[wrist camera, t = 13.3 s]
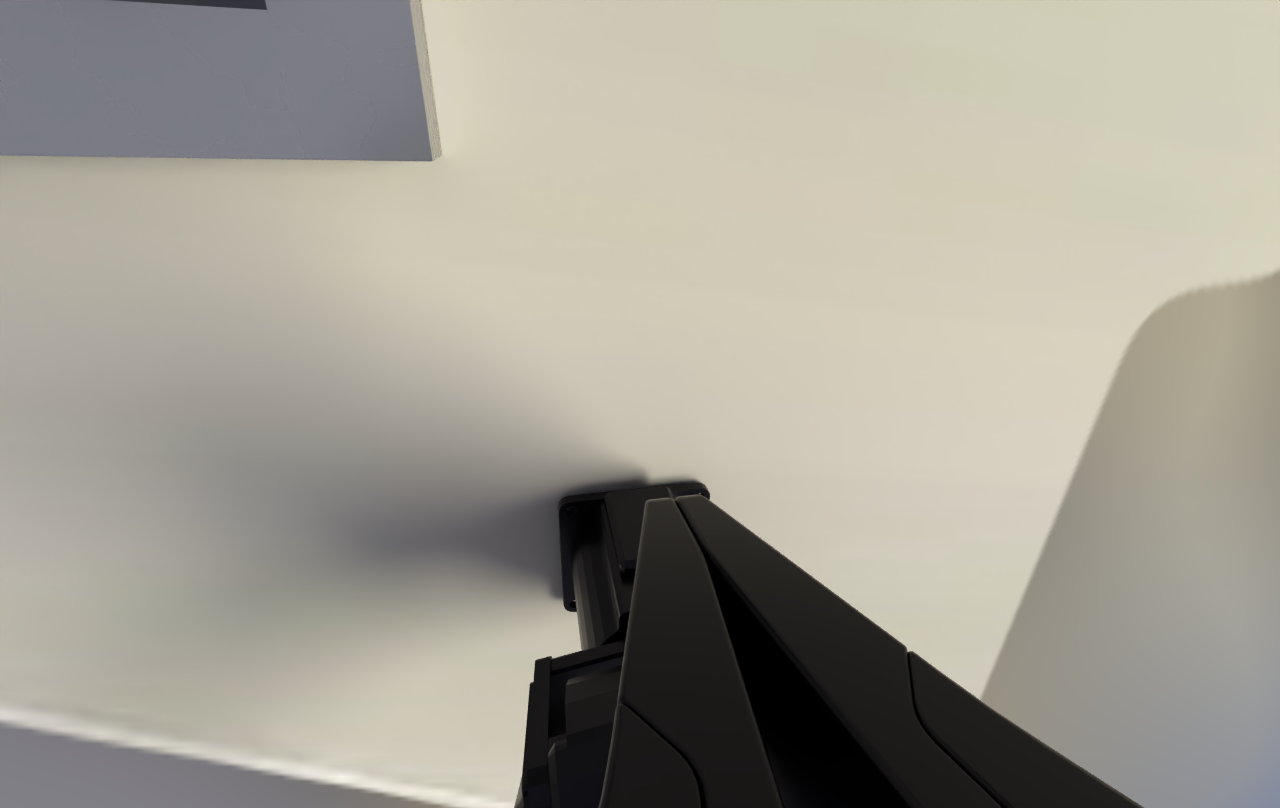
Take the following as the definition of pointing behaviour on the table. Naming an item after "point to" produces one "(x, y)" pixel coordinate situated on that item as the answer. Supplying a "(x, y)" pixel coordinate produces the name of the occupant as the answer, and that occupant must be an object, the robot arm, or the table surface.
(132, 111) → the socket
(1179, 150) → the table surface
